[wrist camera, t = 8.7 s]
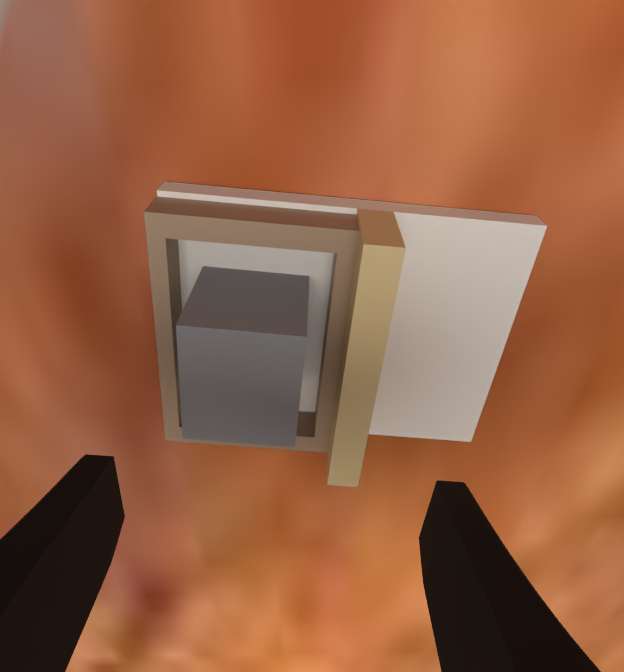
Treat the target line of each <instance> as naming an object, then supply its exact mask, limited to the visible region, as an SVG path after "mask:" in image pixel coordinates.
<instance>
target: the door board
mask: <svg viewBox="0 0 624 672" xmlns="http://www.w3.org/2000/svg"><path fill="white" fill-rule="evenodd" d="M144 219H145V229H146V240H147V250H148V261H149V271H150V282H151V293H152V303H153V314H154V324H155V335H156V346H157V356H158V367H159V377H160V388H161V399H162V409H163V420H164V430H165V441H177V442H190V443H203V444H217V445H230V446H243V447H257V448H270V449H283V450H297V451H310V452H323V453H327V485H335V486H349V487H358V484H359V479H360V474H361V469H362V464H363V459H364V454H365V449H366V444H367V439H368V434H374V435H388V436H401V437H414V438H427V439H440V440H453V441H466V442H471V440H472V437H473V434H474V432H475V429H476V426H477V423H478V420H479V418H480V415H481V412H482V409H483V406H484V403H485V401H486V398H487V395H488V392H489V389H490V386H491V384H492V381H493V378H494V375H495V372H496V369H497V367H498V364H499V361H500V358H501V355H502V352H503V350H504V347H505V344H506V341H507V338H508V335H509V333H510V330H511V327H512V324H513V321H514V319H515V316H516V313H517V310H518V307H519V304H520V302H521V299H522V296H523V293H524V290H525V287H526V285H527V282H528V279H529V276H530V273H531V270H532V268H533V265H534V262H535V259H536V256H537V253H538V251H539V248H540V245H541V242H542V239H543V237H544V234H545V231H546V228H547V225H546V224H545V223H544V222H543V221H542V220H541V219H540V218H539V217H538V216H535V215H524V214H513V213H503V212H492V211H481V210H470V209H459V208H448V207H437V206H426V205H415V204H405V203H394V202H383V201H372V200H361V199H350V198H339V197H328V196H317V195H307V194H296V193H285V192H274V191H263V190H252V189H241V188H230V187H219V186H209V185H198V184H187V183H176V182H164V183H163V184H162V185H161V186H160V187H159V188H158V190H157V197H156V198H155V200H154V201H153V202H152V203H151V204H150V205H149V206H148V208H147V209H146V210H145V211H144ZM203 266H208V267H219V268H230V269H240V270H251V271H262V272H273V273H283V274H294V275H305V276H310V278H309V299H308V321H307V339H306V349H305V358H304V367H303V377H302V386H301V395H300V405H299V414H298V424H297V433H296V442H295V447H284V446H272V445H259V444H247V443H235V442H222V441H210V440H197V439H185V438H182V421H181V404H180V387H179V370H178V353H177V336H176V324H177V322H178V319H179V317H180V315H181V313H182V311H183V309H184V306H185V304H186V302H187V300H188V298H189V295H190V293H191V291H192V289H193V287H194V285H195V282H196V280H197V278H198V276H199V274H200V271H201V269H202V267H203Z"/></svg>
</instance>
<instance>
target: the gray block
mask: <svg viewBox="0 0 624 672" xmlns="http://www.w3.org/2000/svg"><path fill="white" fill-rule="evenodd" d="M309 278H310V276H305V275H294V274H283V273H273V272H262V271H251V270H240V269H230V268H219V267H208V266H203V267H202V269H201V271H200V274H199V276H198V278H197V280H196V282H195V285H194V287H193V289H192V291H191V293H190V295H189V298H188V300H187V302H186V304H185V306H184V309H183V311H182V313H181V315H180V317H179V319H178V322H177V324H176V336H177V353H178V370H179V387H180V404H181V421H182V438H185V439H197V440H210V441H222V442H235V443H247V444H259V445H272V446H284V447H295V442H296V433H297V424H298V414H299V405H300V395H301V386H302V377H303V367H304V358H305V349H306V339H307V321H308V299H309Z"/></svg>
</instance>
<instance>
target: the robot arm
mask: <svg viewBox="0 0 624 672" xmlns="http://www.w3.org/2000/svg"><path fill="white" fill-rule="evenodd" d="M124 517H125V516H124V510H123V505H122V499H121V494H120V488H119V483H118V478H117V472H116V467H115V461H114V457H113V456H99V455H85V456H83V457H82V458H81V459H80V460H79V461H78V462H77V463H76V464H75V465H74V466H73V467H72V468H71V469H70V470H69V471H68V472H67V474H66V475H65V476H64V477H63V478H62V479H61V480H60V481H59V482H58V483H57V484H56V485H55V486H54V487H53V488H52V489H51V490H50V491H49V492H48V493H47V494H46V495H45V496H44V497H43V498H42V499H41V500H40V501H39V502H38V503H37V504H36V505H35V506H34V507H33V508H32V509H31V510H30V511H29V512H28V513H27V514H26V515H25V516H24V517H23V518H22V519H21V520H20V521H19V522H18V523H17V524H16V525H15V526H14V527H13V528H12V529H11V530H10V531H8V532H7V533H6V534H5V535H4V536H3V537H2V538H1V539H0V672H65V671H66V668H67V666H68V664H69V661H70V659H71V656H72V654H73V652H74V649H75V647H76V645H77V642H78V640H79V638H80V635H81V633H82V631H83V628H84V626H85V624H86V621H87V619H88V617H89V614H90V612H91V610H92V607H93V605H94V602H95V600H96V598H97V595H98V593H99V591H100V588H101V586H102V583H103V581H104V579H105V576H106V574H107V571H108V569H109V567H110V564H111V561H112V558H113V555H114V552H115V548H116V545H117V542H118V538H119V535H120V531H121V528H122V524H123V521H124ZM419 543H420V554H421V565H422V575H423V584H424V589H425V594H426V599H427V604H428V609H429V614H430V619H431V623H432V628H433V633H434V638H435V642H436V647H437V652H438V656H439V661H440V666H441V671H442V672H601V671H600V670H599V669H598V668H597V667H596V666H595V664H594V663H593V662H592V661H591V660H590V659H589V657H588V656H587V655H586V654H585V653H584V651H583V650H582V649H581V648H580V647H579V646H578V644H577V643H576V642H575V641H574V639H573V638H572V637H571V636H570V635H569V633H568V632H567V631H566V629H565V628H564V627H563V626H562V624H561V623H560V622H559V621H558V619H557V618H556V617H555V615H554V614H553V613H552V611H551V610H550V609H549V607H548V606H547V605H546V604H545V602H544V601H543V600H542V598H541V597H540V596H539V594H538V593H537V591H536V590H535V589H534V587H533V586H532V585H531V583H530V582H529V580H528V579H527V578H526V576H525V575H524V573H523V572H522V570H521V569H520V567H519V566H518V565H517V563H516V562H515V560H514V559H513V557H512V556H511V555H510V553H509V552H508V550H507V549H506V547H505V546H504V544H503V543H502V541H501V540H500V538H499V536H498V535H497V533H496V532H495V530H494V529H493V527H492V526H491V524H490V522H489V521H488V519H487V518H486V516H485V515H484V513H483V511H482V510H481V508H480V506H479V505H478V503H477V502H476V500H475V498H474V497H473V495H472V493H471V492H470V490H469V488H468V487H467V486H466V484H465V483H464V482H451V481H437V482H436V485H435V488H434V491H433V494H432V498H431V501H430V504H429V507H428V510H427V514H426V517H425V520H424V523H423V526H422V530H421V533H420V536H419Z"/></svg>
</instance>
